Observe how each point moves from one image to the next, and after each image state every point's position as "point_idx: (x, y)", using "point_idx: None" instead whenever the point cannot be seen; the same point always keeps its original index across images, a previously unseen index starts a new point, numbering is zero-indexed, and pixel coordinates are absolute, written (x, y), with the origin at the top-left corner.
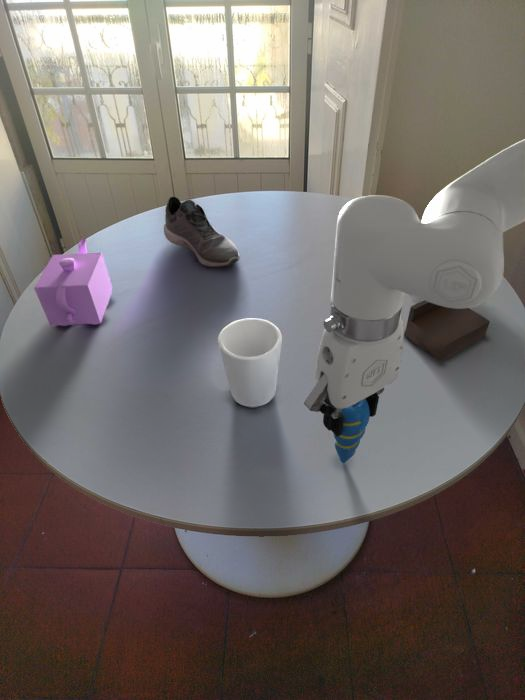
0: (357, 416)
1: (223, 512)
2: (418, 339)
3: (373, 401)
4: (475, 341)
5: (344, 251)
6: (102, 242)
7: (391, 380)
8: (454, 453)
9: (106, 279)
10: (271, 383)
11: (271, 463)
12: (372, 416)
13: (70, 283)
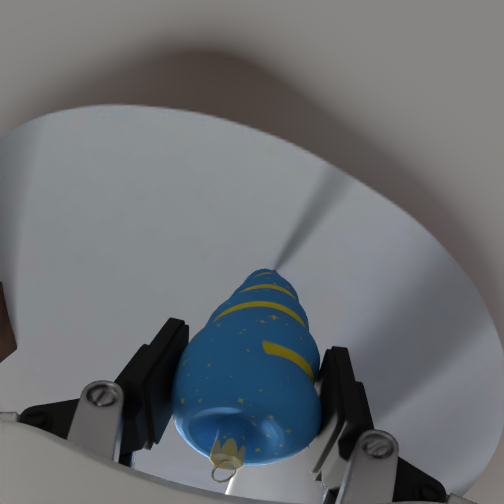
0: (274, 379)
1: (481, 335)
2: (3, 331)
3: (156, 376)
4: None
5: None
6: None
7: (19, 448)
8: (89, 136)
9: None
10: (269, 474)
11: (374, 359)
12: (183, 321)
13: None
